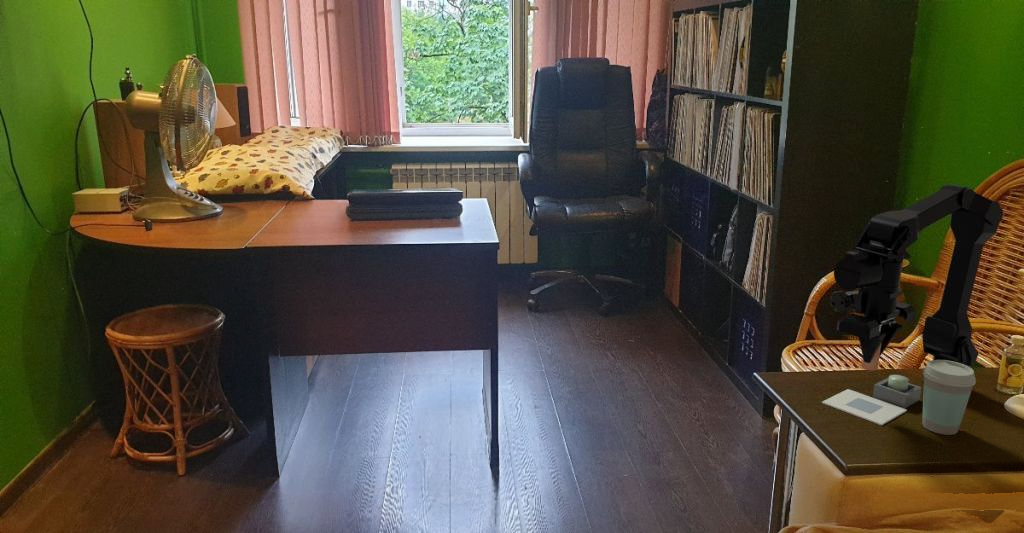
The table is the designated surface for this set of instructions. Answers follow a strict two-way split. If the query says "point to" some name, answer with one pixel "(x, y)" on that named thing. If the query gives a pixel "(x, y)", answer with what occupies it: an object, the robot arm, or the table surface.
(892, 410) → the paper
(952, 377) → the coffee cup
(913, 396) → the button housing
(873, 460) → the table surface
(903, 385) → the button
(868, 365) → the marker
